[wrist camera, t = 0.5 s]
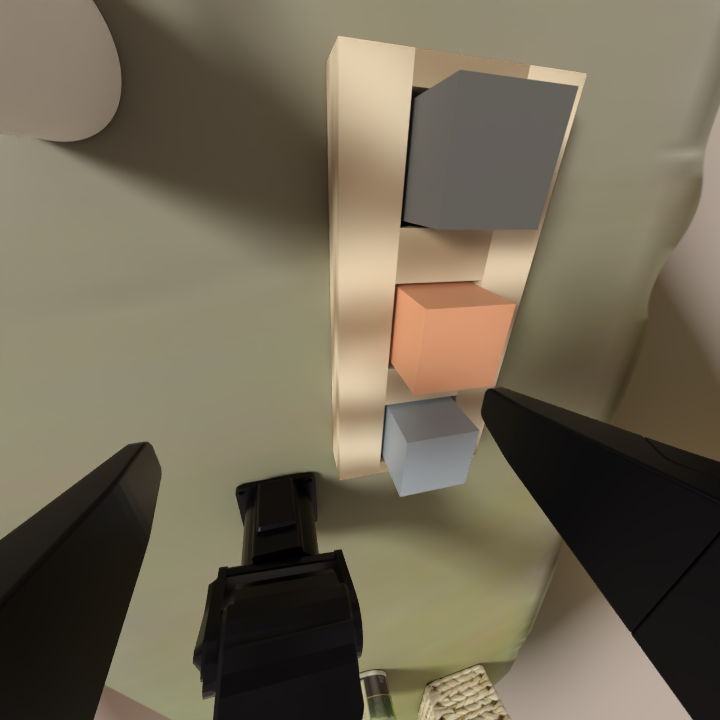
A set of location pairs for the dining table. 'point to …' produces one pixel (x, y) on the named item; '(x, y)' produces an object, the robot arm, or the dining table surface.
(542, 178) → the dark grey cube
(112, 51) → the mug
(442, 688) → the storage basket
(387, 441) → the blue-grey cube
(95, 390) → the dining table surface
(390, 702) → the coffee can
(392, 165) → the birch panel
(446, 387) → the orange cube
